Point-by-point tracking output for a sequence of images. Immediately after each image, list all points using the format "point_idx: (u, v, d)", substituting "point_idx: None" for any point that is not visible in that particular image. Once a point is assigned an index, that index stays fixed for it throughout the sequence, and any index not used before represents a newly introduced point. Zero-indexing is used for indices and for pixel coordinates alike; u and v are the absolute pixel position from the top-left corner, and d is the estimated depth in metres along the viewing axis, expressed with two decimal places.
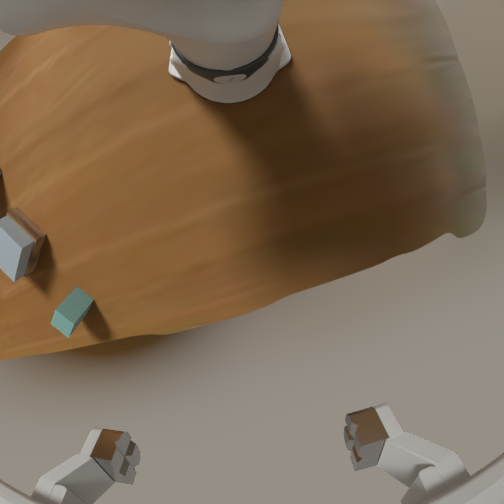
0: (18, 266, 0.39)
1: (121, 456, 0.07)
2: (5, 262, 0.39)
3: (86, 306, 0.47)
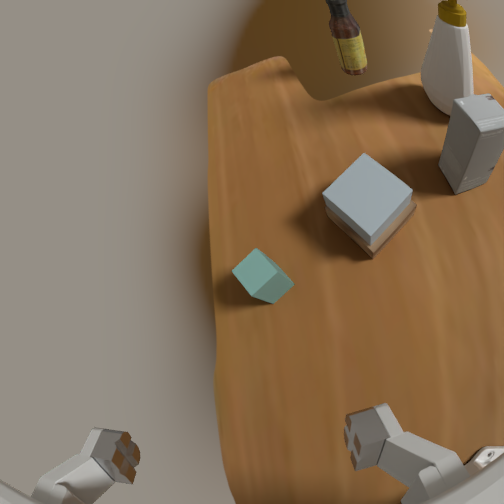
0: (345, 213, 0.36)
1: (121, 456, 0.07)
2: (352, 187, 0.36)
3: (268, 300, 0.41)
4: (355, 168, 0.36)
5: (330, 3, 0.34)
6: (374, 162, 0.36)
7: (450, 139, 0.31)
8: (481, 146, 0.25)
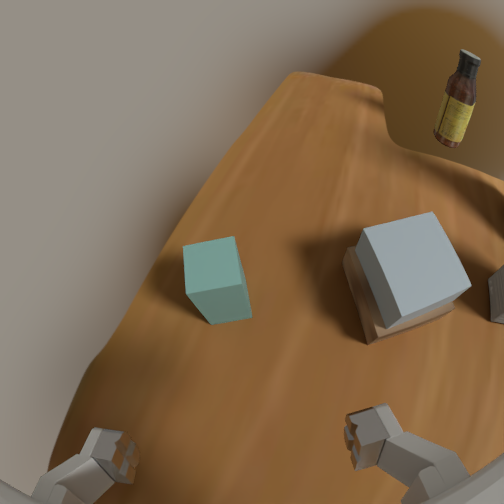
0: (381, 269, 0.23)
1: (121, 456, 0.07)
2: (404, 243, 0.24)
3: (206, 315, 0.27)
4: (416, 222, 0.25)
5: (463, 57, 0.26)
6: (441, 228, 0.24)
7: None
8: None
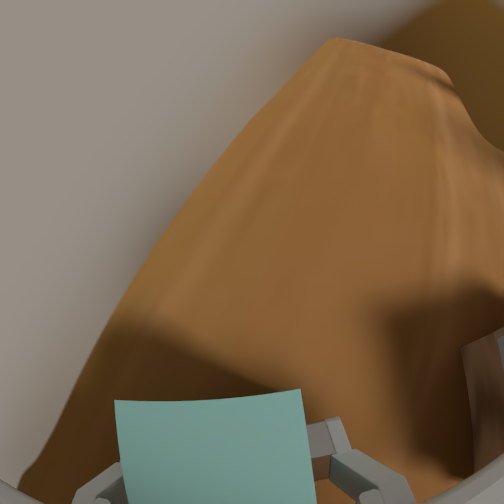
0: None
1: None
2: None
3: None
4: None
5: None
6: None
7: None
8: None
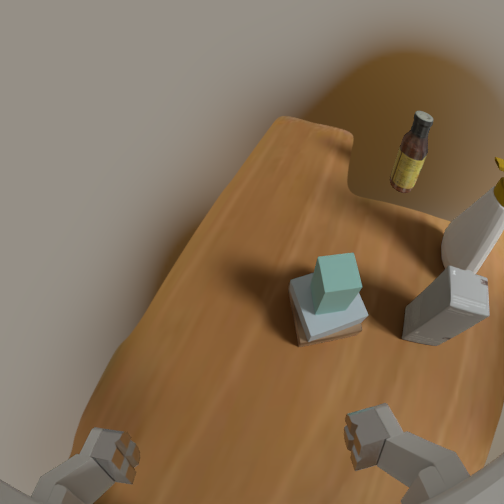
0: (300, 307, 0.39)
1: (121, 456, 0.07)
2: None
3: (319, 308, 0.36)
4: None
5: (416, 119, 0.43)
6: None
7: (426, 294, 0.37)
8: (445, 317, 0.31)
